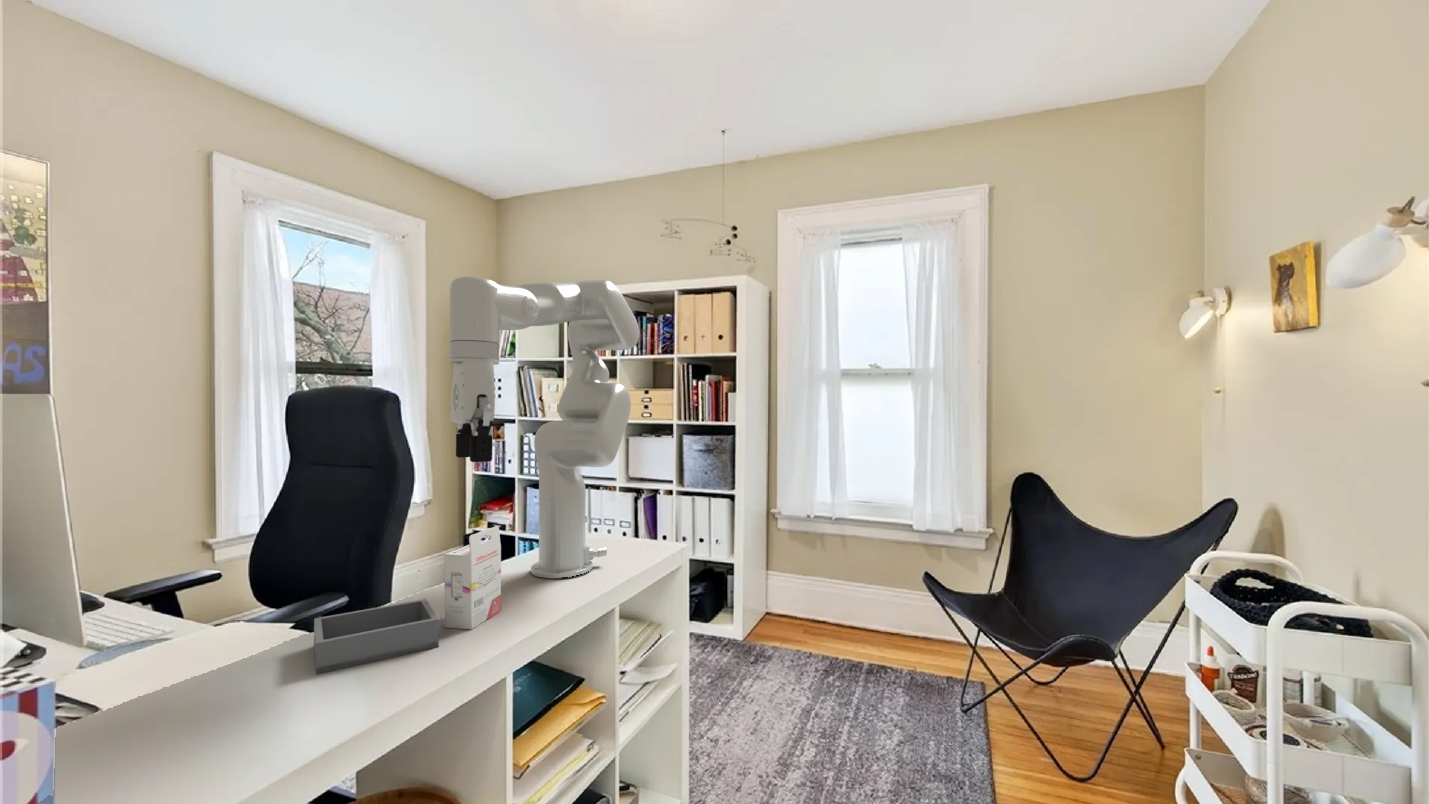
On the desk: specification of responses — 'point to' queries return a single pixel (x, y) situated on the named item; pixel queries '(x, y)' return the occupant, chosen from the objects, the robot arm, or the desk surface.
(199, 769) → the desk surface
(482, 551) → the ink cartridge box
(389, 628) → the box
